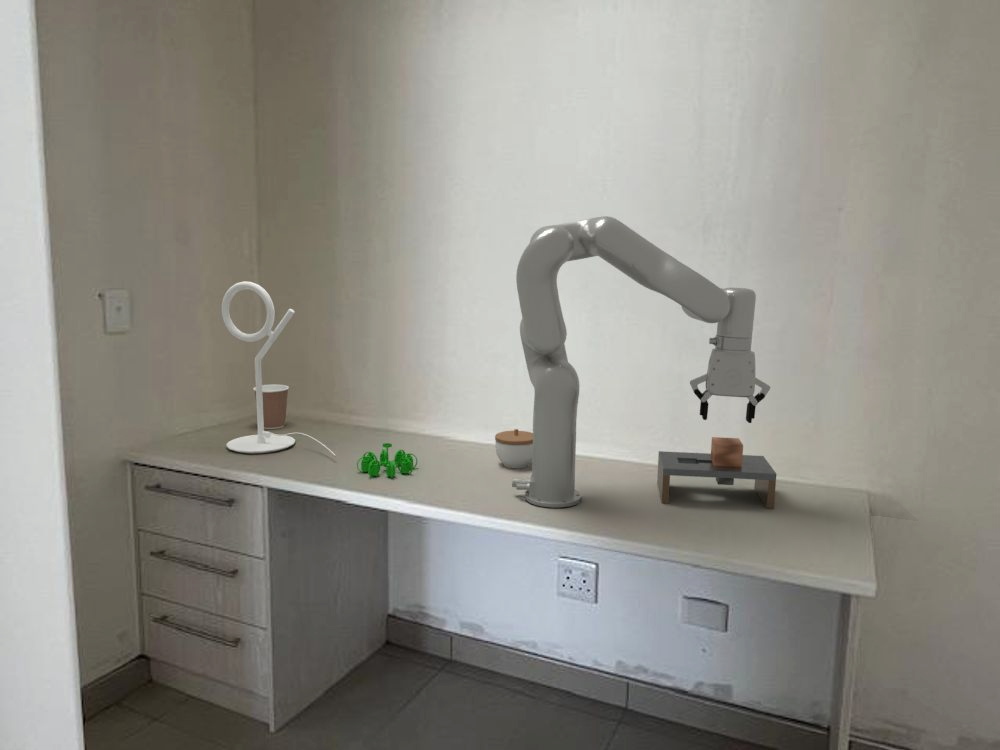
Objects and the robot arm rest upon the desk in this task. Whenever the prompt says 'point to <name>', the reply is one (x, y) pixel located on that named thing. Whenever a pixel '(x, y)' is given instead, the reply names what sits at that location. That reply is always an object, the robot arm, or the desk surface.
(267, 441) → the desk lamp
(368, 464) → the chandelier
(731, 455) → the headed peg
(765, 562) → the desk surface
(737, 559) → the desk surface
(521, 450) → the lidded jar
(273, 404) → the coffee cup
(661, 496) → the keyhole stand
